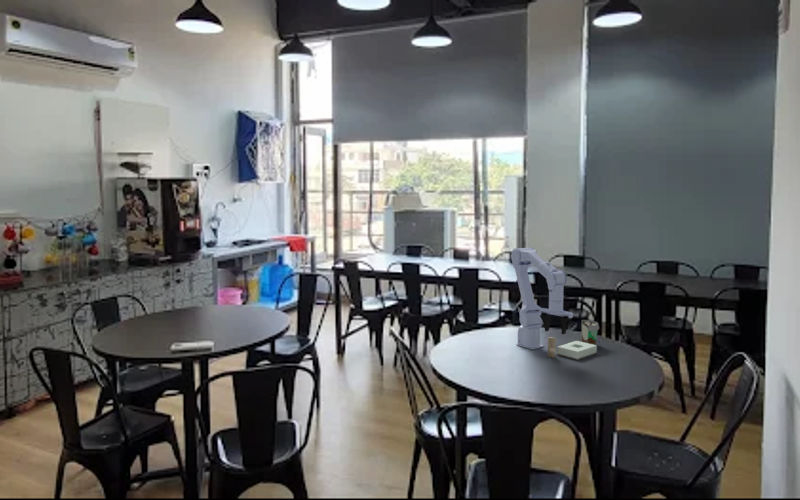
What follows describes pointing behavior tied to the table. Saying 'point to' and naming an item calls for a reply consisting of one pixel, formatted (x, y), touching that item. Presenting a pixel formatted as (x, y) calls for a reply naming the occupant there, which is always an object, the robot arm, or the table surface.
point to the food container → (589, 331)
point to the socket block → (577, 350)
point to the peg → (551, 347)
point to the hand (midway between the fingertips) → (555, 332)
